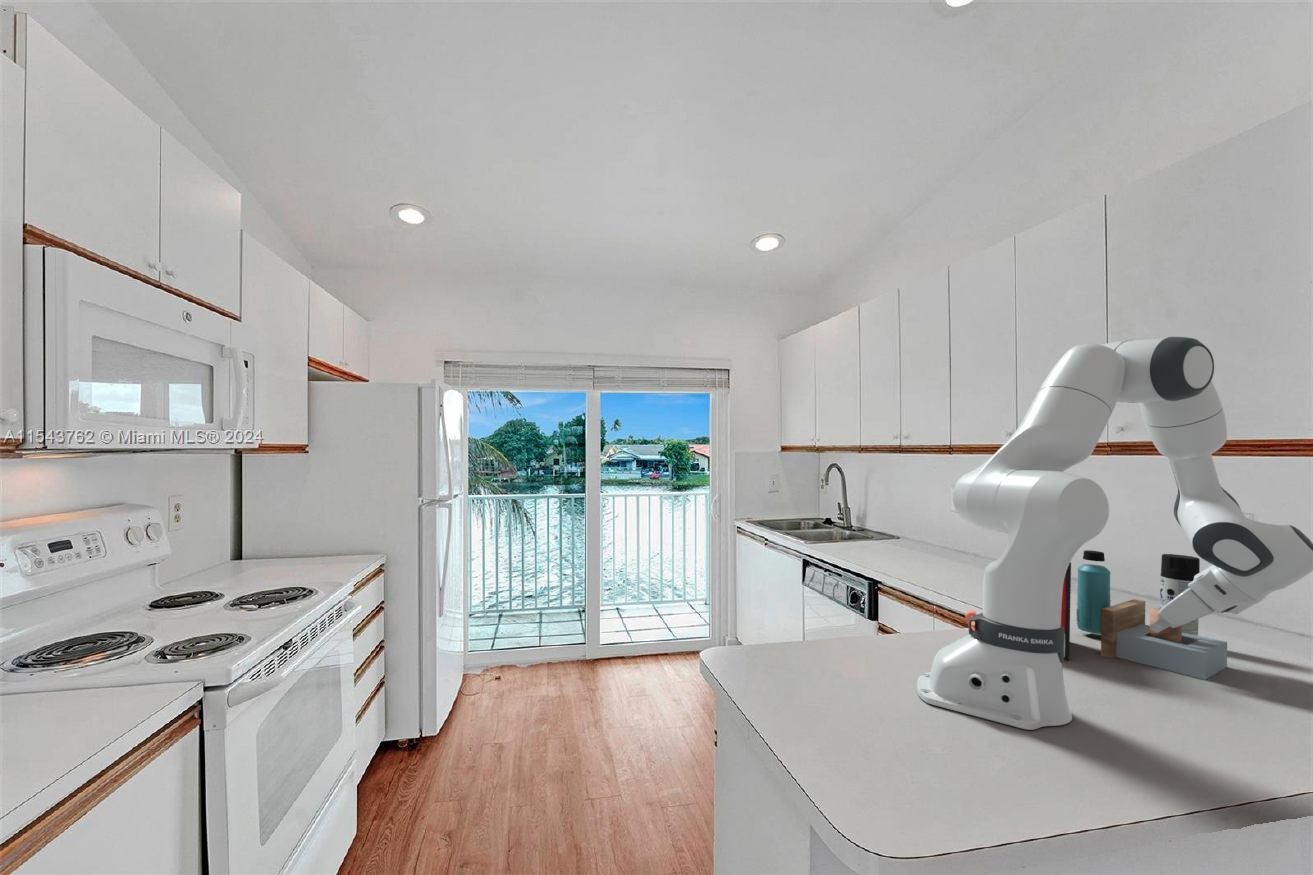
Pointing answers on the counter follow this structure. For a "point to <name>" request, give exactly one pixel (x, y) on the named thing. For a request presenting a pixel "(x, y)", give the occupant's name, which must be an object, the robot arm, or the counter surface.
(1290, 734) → the counter surface
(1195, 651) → the square socket block
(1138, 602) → the backstop board
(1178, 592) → the spray can
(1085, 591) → the beverage bottle
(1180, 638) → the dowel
